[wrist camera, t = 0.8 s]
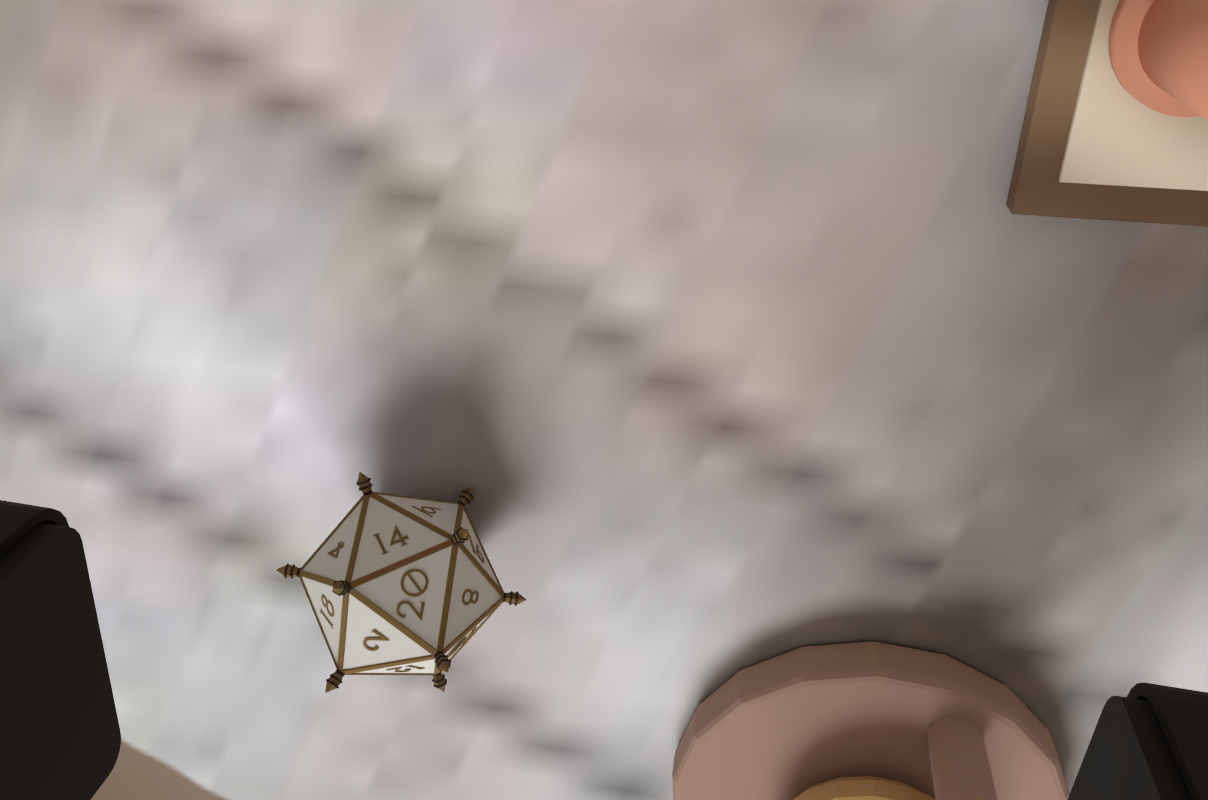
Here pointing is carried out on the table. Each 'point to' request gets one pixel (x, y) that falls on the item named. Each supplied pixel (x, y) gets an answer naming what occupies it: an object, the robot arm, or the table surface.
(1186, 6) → the pawn
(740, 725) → the wooden pedestal stand
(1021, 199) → the board
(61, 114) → the table surface
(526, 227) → the table surface
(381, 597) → the game die
